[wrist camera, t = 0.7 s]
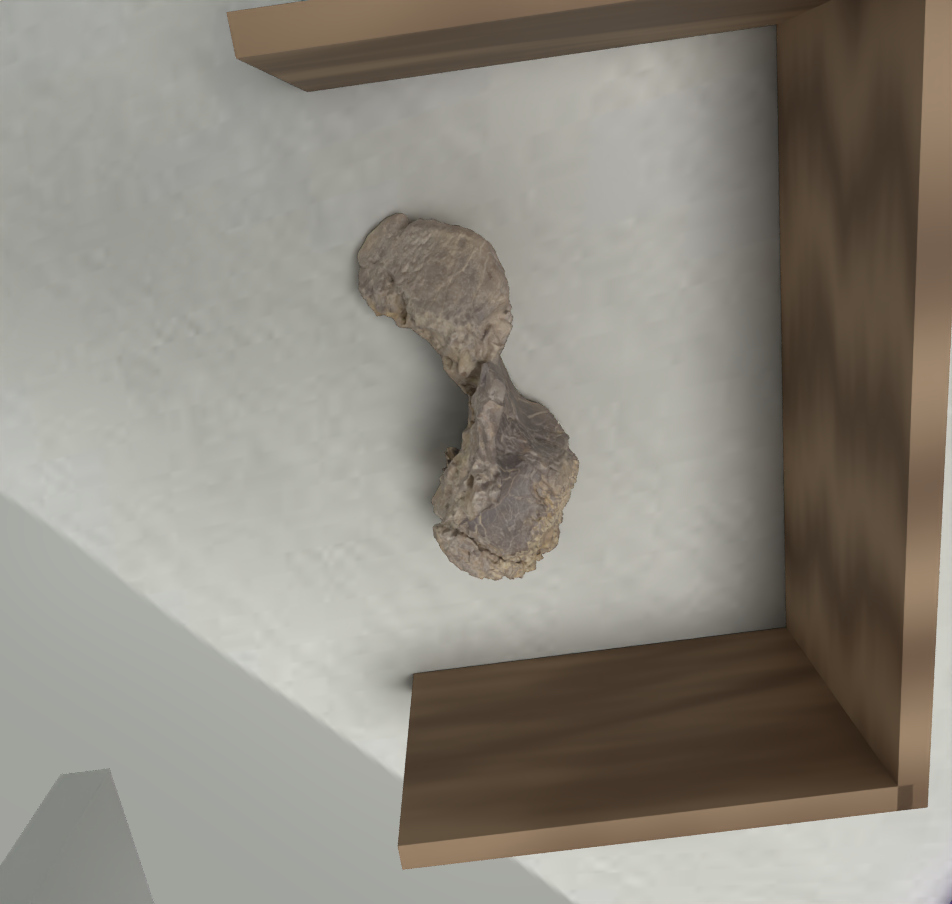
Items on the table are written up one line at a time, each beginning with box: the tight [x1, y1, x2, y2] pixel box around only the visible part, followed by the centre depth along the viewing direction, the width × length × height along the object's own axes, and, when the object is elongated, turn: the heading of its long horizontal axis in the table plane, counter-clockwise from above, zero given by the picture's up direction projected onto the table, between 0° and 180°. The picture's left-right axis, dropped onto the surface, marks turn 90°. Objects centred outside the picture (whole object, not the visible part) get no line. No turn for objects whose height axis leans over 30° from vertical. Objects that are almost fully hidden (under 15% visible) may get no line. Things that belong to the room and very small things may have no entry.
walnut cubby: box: [227, 0, 952, 870], centre depth 29 cm, size 26×18×10 cm
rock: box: [357, 213, 579, 580], centre depth 30 cm, size 6×14×7 cm, turn 16°
